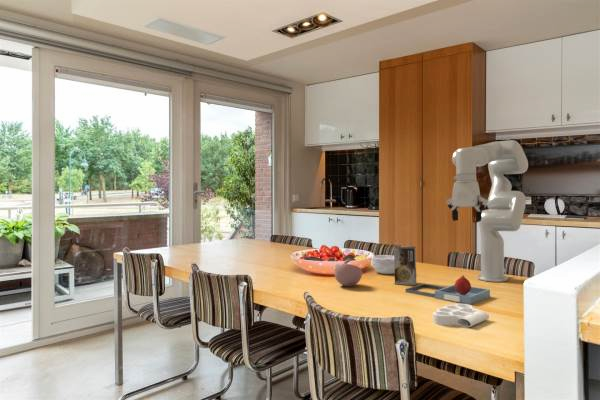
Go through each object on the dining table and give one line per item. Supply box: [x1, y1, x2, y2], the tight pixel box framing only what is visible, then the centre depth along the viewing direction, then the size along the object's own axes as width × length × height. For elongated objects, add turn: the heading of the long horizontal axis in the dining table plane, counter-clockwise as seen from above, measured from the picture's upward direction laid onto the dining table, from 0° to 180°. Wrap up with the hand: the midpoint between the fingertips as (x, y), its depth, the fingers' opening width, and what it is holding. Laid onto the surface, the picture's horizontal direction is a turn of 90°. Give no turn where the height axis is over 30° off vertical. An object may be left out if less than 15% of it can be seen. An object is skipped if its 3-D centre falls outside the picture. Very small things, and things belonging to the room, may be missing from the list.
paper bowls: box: [370, 254, 395, 275], centre depth 220 cm, size 15×15×8 cm
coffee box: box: [393, 245, 417, 286], centre depth 194 cm, size 9×6×16 cm
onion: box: [454, 274, 472, 296], centre depth 167 cm, size 6×6×8 cm
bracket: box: [405, 283, 446, 298], centre depth 178 cm, size 14×13×1 cm
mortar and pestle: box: [333, 258, 363, 287], centre depth 191 cm, size 12×12×11 cm
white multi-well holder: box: [432, 303, 490, 329], centre depth 140 cm, size 3×18×15 cm
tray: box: [434, 284, 491, 306], centre depth 167 cm, size 16×14×3 cm
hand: (466, 221), depth 178 cm, fingers open, 9 cm apart
